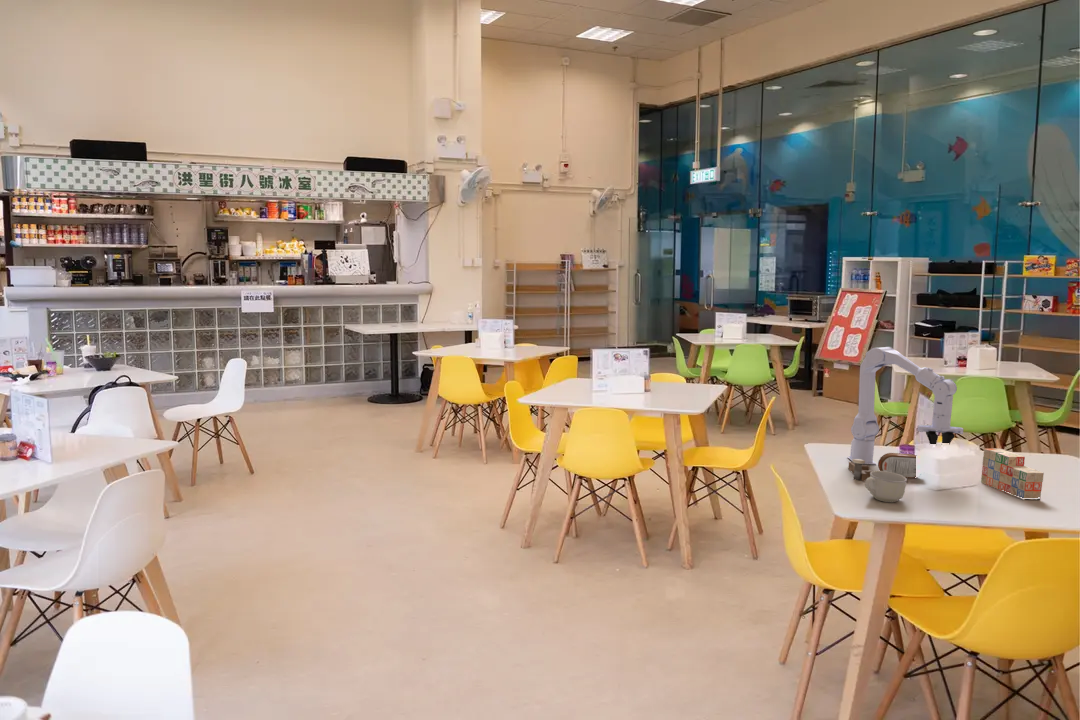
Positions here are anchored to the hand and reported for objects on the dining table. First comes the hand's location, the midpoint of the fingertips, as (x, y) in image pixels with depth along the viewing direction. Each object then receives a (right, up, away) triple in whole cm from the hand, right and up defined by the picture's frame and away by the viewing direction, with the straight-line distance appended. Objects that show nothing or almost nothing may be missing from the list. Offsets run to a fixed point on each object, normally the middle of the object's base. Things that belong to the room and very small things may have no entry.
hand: (938, 452), depth 283 cm
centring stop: (-26, -8, +3) cm, 28 cm away
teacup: (-31, -12, -26) cm, 42 cm away
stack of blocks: (+19, -12, -11) cm, 25 cm away
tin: (-12, -9, +2) cm, 15 cm away
